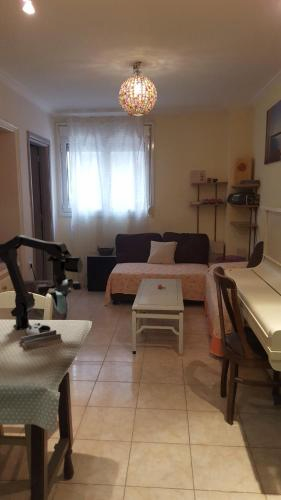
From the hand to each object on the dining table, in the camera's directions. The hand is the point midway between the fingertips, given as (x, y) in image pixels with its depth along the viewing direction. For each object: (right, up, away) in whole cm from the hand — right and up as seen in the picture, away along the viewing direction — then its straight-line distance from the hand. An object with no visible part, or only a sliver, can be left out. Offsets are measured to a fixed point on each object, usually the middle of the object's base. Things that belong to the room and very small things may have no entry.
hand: (59, 306), depth 162 cm
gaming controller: (-9, -12, -1) cm, 15 cm away
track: (-5, -13, -11) cm, 18 cm away
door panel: (0, -2, 0) cm, 2 cm away
